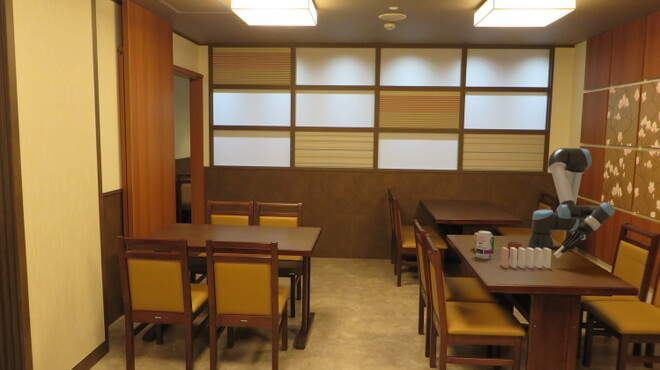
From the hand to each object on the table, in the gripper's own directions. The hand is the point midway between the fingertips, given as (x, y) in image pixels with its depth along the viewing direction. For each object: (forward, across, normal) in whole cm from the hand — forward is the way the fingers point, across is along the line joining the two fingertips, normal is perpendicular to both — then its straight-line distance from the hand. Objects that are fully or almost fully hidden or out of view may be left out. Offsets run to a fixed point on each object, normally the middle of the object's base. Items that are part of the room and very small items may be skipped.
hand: (555, 256), depth 260 cm
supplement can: (+28, -18, -19) cm, 38 cm away
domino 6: (+8, 0, +1) cm, 8 cm away
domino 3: (+18, 0, -9) cm, 20 cm away
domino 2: (+21, 0, -12) cm, 24 cm away
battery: (+15, -18, -6) cm, 24 cm away
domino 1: (+24, 0, -15) cm, 29 cm away
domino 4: (+14, 0, -6) cm, 15 cm away
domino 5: (+11, 0, -2) cm, 11 cm away
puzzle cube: (+24, -35, -14) cm, 45 cm away
